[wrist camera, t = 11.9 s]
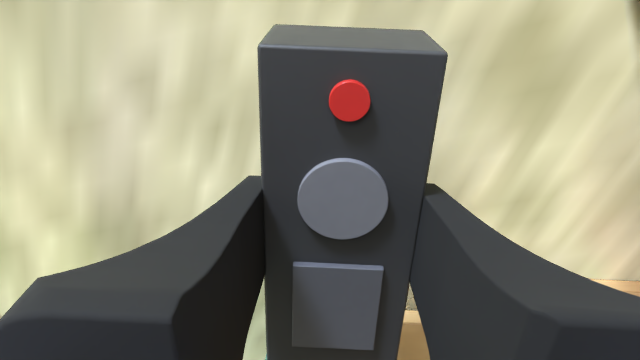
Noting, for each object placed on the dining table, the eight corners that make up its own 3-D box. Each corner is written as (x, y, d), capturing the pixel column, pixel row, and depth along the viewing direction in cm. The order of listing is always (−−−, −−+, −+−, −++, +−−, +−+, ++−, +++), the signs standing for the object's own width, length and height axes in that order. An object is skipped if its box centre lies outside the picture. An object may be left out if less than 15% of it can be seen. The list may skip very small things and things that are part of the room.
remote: (276, 299, 16) (265, 368, 13) (273, 24, 12) (255, 46, 9) (386, 304, 16) (396, 375, 13) (424, 29, 12) (451, 54, 9)
